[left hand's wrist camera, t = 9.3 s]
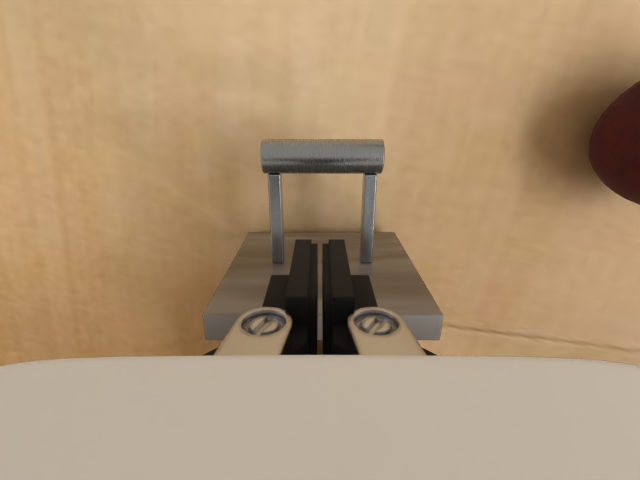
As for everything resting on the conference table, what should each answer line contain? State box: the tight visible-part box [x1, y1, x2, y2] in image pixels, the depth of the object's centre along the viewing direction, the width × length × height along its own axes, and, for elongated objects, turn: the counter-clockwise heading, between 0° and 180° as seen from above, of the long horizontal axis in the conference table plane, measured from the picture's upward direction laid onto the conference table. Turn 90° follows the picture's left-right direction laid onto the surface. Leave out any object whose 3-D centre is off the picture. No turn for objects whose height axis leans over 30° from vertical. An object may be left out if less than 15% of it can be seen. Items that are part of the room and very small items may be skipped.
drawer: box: [203, 139, 443, 355], centre depth 20 cm, size 22×9×10 cm, turn 0°
